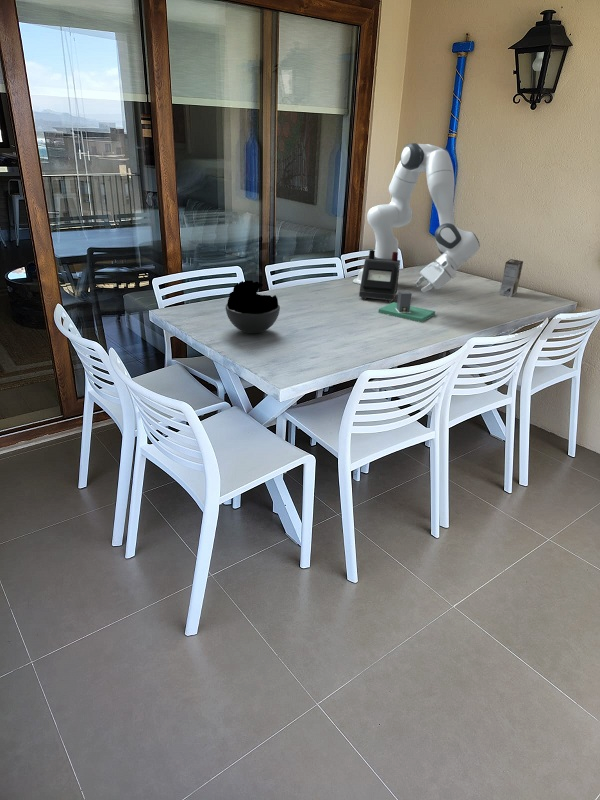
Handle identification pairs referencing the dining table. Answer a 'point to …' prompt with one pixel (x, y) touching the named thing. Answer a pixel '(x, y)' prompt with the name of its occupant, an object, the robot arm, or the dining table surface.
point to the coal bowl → (251, 308)
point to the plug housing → (404, 300)
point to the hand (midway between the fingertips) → (418, 288)
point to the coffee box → (511, 277)
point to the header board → (413, 314)
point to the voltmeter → (380, 277)
